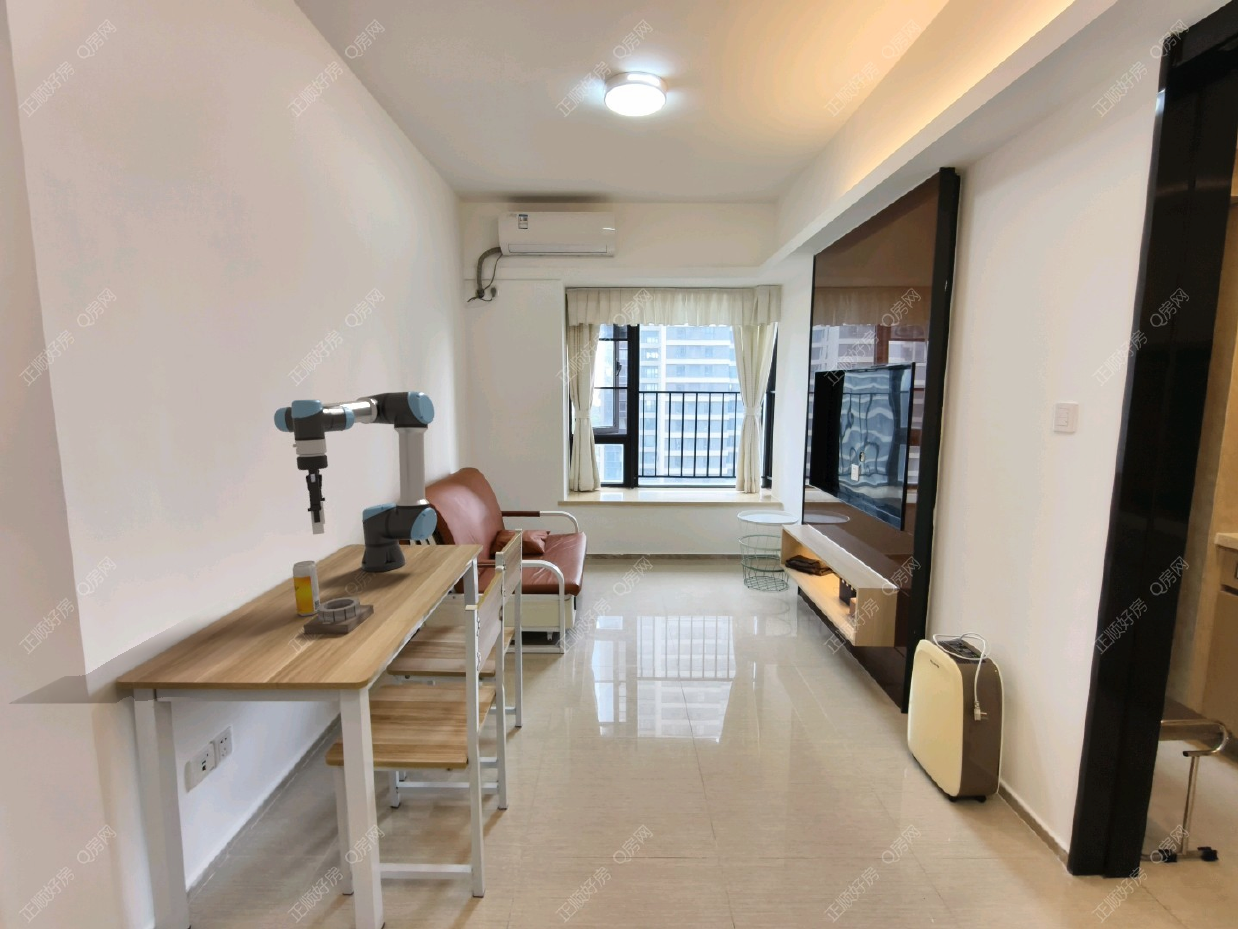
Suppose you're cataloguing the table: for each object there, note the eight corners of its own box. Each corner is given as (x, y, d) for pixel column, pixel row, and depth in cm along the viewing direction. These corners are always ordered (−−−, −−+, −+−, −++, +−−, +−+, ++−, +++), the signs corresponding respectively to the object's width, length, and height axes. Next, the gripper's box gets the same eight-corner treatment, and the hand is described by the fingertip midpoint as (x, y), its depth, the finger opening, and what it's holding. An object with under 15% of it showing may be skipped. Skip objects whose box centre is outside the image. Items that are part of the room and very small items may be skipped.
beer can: (305, 608, 165) (300, 560, 164) (325, 608, 165) (320, 560, 163) (292, 616, 159) (287, 566, 158) (313, 616, 159) (308, 566, 157)
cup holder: (333, 613, 161) (332, 595, 160) (373, 613, 160) (372, 594, 160) (304, 634, 147) (302, 614, 146) (348, 633, 146) (346, 613, 146)
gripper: (298, 452, 164) (306, 522, 166) (293, 460, 142) (301, 540, 144) (327, 450, 167) (334, 518, 170) (326, 457, 145) (333, 536, 148)
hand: (319, 528), depth 157 cm, fingers open, 13 cm apart
